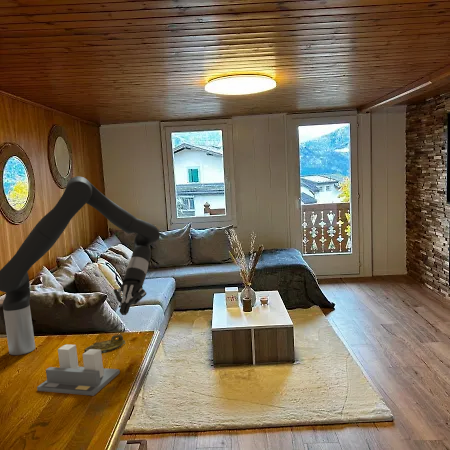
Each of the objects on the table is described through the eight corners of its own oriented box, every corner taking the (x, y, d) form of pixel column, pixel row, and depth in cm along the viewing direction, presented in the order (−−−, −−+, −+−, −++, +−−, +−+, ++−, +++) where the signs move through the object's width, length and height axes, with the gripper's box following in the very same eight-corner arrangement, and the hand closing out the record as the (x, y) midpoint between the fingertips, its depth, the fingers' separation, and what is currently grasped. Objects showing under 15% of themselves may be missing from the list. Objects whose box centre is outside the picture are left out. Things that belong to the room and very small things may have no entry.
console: (67, 369, 153) (65, 354, 153) (119, 372, 147) (118, 357, 147) (37, 390, 139) (35, 374, 138) (93, 395, 133) (91, 379, 132)
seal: (87, 360, 163) (128, 349, 169) (85, 348, 162) (127, 338, 168) (82, 349, 171) (122, 339, 178) (81, 337, 170) (121, 328, 177)
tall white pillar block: (92, 374, 144) (90, 349, 143) (103, 374, 143) (101, 349, 142) (85, 379, 140) (82, 354, 139) (96, 380, 139) (93, 354, 138)
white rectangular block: (68, 368, 150) (65, 344, 149) (78, 369, 149) (75, 344, 148) (60, 374, 146) (57, 349, 145) (71, 374, 145) (68, 349, 144)
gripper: (116, 266, 168) (101, 308, 158) (148, 266, 164) (135, 309, 154) (125, 277, 174) (111, 318, 164) (156, 277, 170) (144, 319, 160)
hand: (123, 314), depth 159 cm, fingers closed
